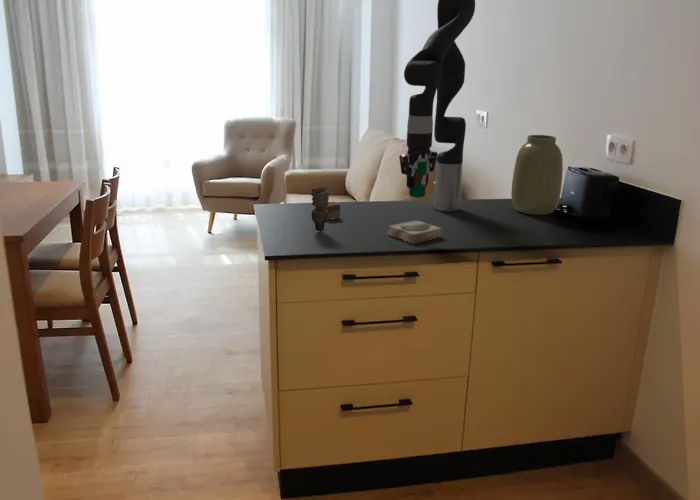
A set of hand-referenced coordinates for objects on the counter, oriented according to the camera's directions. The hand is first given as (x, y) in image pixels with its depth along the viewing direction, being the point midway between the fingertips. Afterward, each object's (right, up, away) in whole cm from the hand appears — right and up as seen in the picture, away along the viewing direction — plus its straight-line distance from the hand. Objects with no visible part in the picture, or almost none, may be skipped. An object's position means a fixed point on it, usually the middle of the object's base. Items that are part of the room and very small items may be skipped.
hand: (417, 186), depth 191 cm
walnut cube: (-27, -4, +23) cm, 36 cm away
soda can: (0, -3, +1) cm, 3 cm away
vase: (+47, -5, +39) cm, 61 cm away
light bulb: (-30, -14, +7) cm, 34 cm away
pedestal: (0, -15, +5) cm, 16 cm away
